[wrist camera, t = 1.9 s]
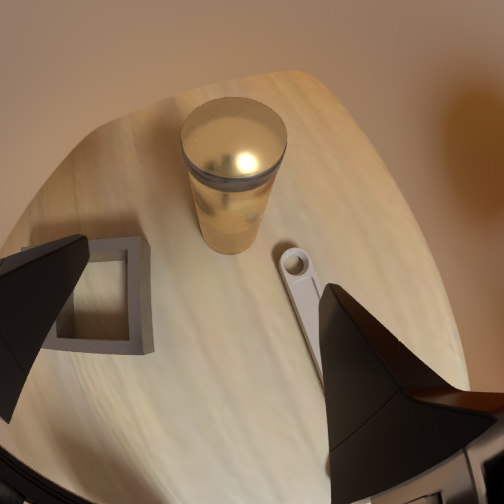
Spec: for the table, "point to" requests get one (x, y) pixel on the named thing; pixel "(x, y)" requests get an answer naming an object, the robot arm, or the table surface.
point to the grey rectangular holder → (137, 302)
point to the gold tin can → (232, 167)
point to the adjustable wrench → (305, 300)
